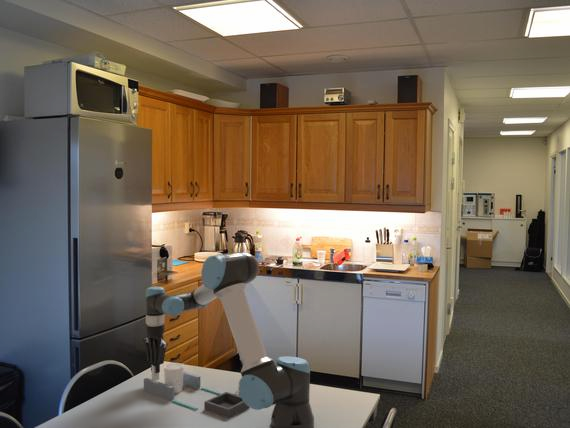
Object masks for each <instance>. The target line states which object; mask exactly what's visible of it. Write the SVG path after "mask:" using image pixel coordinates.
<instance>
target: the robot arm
mask: <svg viewBox="0 0 570 428" xmlns="http://www.w3.org/2000/svg"><path fill="white" fill-rule="evenodd" d="M259 269H260V268H259V263H258V261H257V259H256V257H254V255H252V254H250V253H248V252H244V251H238V252H230V253H217V254H215V255H210V256H208V257H207V258H206V259H205V260H204V262H203V264H202V267H201V273H200V274H201V275H200V276H201V282H202V284H201V285H200V286H198V287H197V288H195V289H194V290H192V291H188V292H182V293H176V294H166V292H165V288H164V287H162V286H150V287H148V288H146V290H145V324H146V326H145V334H146V338H143V339H142V341H143V343H144V348H145V354H146V361H147V363H149V364H150V371H151V380H154V381H158V380H160V371H161V365H164V363H165V358H166V357H165V356H166V350H167V347H168V345H169V344H168V342H165V340H164V339H165V338H164V333H165V332H166V331H165V329H166V327H165V315H167V316H171V317H172V316H173V317H177V316H180V314H182V313H184V312H189V311H193V310H200V309H203V308H206V307H208V306H209V304H210V302H212V301H214V300H215V299H217V298H218V299H220V302H221V304H222V307H223V310H224V313H225V316H226V319H227V321H228V325H229V328H230V330H231V334H232V337H233V339H234V343H235V346H236V348H237V352H238V355H239V357H240V361H241V365H242V368H241V370H240V375H241V378H240V379H239V382H238V391H239V392H238V393H239V396H241V398H242V400H243V401H244V402H245V404H246V405H247V406H249V408H250V409H253V410H255V411H260V410H263V409H268V408H270V407H272V406H274V408H273V410H272V414H271V416H270V425H271V427H272V428H314V426H315V416H314V414H313V411H312V407H311V404H310V389H311V388H310V384H311V383H310V382H311V369H310V363H309V361H308V360H307V359H304V358H301V357H297V356H289V355H288V356H287V355H286V356H279V357H277V358H276V361H274V359H273V358H271V357H270V356H268V355H267V352H266V349H265V346H264V343H263V340H262V339H261V335H260V333H259V330H258V327H257V324H256V321H255V319H254V315H253V313H252V309H251V307H250V305H249V302H248V299H247V296H246V293H245V289H246V287H247V285H248V284H249V283H251V282H253V281H254V280H255V279H256V278H257V276H258V275H259Z"/></svg>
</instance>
